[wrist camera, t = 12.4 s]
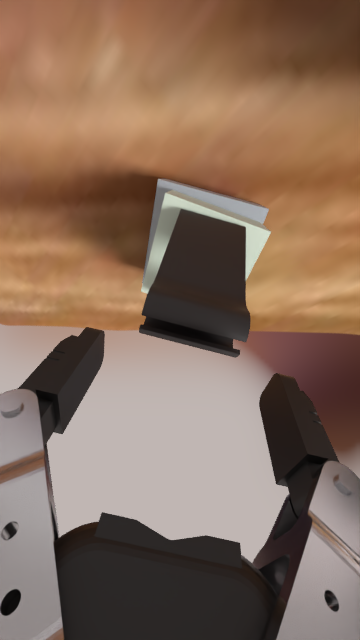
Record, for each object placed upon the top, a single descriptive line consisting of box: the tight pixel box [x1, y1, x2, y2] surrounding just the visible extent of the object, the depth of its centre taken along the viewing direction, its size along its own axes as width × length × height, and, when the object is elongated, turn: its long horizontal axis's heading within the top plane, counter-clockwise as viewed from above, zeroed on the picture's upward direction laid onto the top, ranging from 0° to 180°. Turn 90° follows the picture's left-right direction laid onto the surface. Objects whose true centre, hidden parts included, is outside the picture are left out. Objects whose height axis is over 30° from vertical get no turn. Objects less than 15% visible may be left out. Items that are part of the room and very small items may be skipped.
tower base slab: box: [142, 179, 269, 283], centre depth 29 cm, size 12×12×5 cm
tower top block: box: [141, 190, 271, 294], centre depth 25 cm, size 10×10×5 cm
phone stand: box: [139, 209, 250, 357], centre depth 18 cm, size 9×6×12 cm, turn 166°
